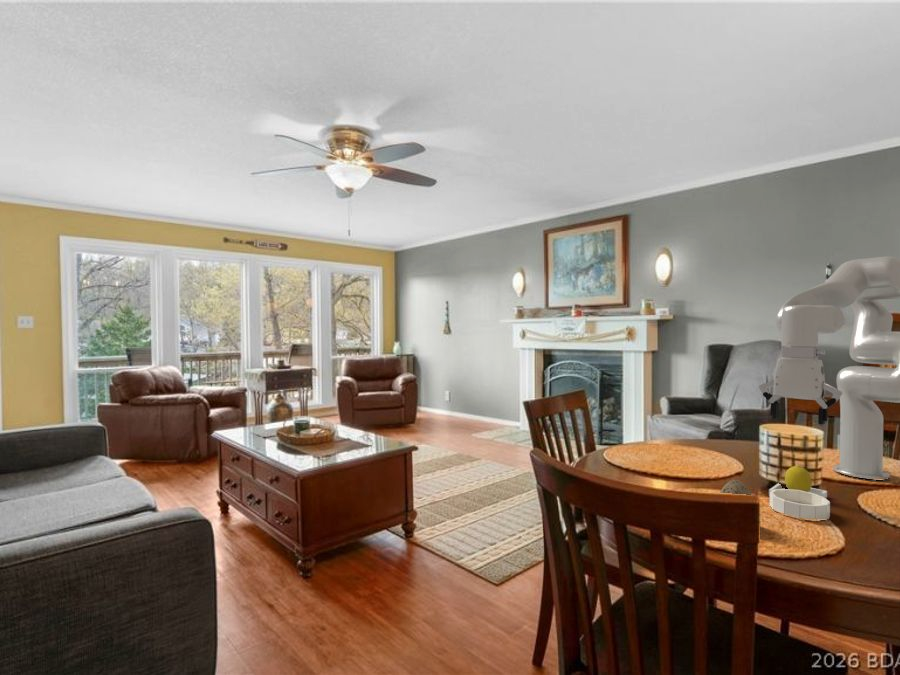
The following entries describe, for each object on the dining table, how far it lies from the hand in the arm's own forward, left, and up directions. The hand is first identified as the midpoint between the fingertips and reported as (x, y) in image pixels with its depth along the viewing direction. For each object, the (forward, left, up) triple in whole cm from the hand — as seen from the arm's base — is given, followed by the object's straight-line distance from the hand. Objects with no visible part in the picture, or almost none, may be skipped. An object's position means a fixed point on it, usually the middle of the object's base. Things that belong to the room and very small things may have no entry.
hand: (798, 421), depth 121 cm
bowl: (+12, +3, -19) cm, 23 cm away
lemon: (0, 0, -20) cm, 20 cm away
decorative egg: (+31, -4, -20) cm, 37 cm away
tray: (0, 0, -19) cm, 19 cm away
